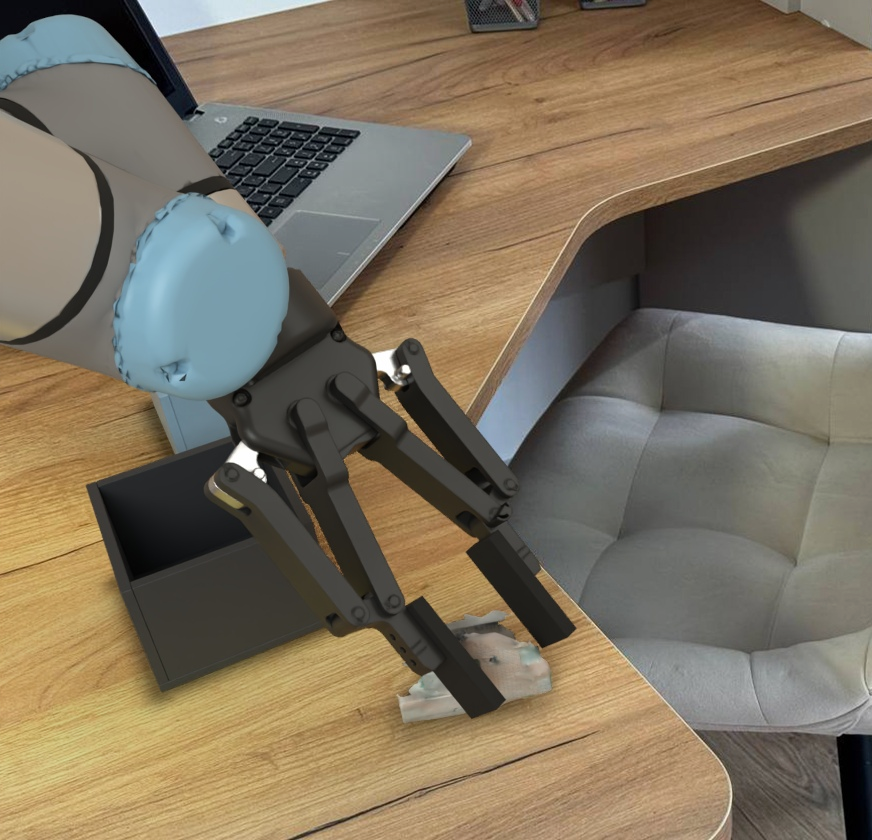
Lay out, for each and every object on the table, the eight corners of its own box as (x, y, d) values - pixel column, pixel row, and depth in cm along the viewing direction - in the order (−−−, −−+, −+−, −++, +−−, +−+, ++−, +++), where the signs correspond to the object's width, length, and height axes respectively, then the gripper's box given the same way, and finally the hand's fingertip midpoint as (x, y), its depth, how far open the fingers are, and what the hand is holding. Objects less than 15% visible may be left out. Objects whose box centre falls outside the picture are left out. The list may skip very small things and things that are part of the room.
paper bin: (191, 492, 85) (158, 397, 80) (154, 405, 93) (122, 315, 88) (355, 434, 89) (333, 341, 84) (306, 356, 97) (283, 267, 92)
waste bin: (161, 693, 71) (120, 593, 67) (124, 581, 79) (85, 484, 74) (340, 621, 75) (313, 521, 70) (289, 521, 82) (261, 424, 78)
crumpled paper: (556, 701, 69) (542, 608, 65) (405, 736, 68) (380, 644, 63) (541, 643, 72) (527, 551, 68) (396, 676, 71) (373, 584, 67)
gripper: (336, 260, 73) (593, 586, 75) (59, 427, 61) (370, 806, 63) (389, 196, 67) (666, 550, 69) (94, 367, 56) (435, 786, 57)
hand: (524, 672), depth 66 cm, fingers closed on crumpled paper, 5 cm apart
